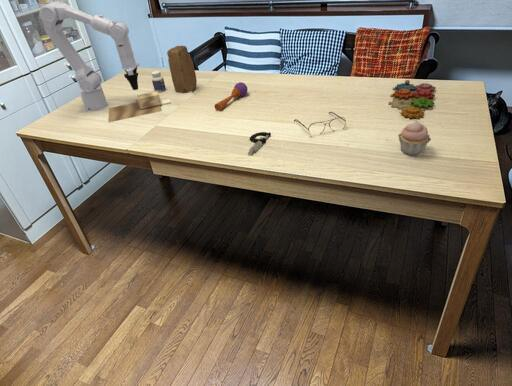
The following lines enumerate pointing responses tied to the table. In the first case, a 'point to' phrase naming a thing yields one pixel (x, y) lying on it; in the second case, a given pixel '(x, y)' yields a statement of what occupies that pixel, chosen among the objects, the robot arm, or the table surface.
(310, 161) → the table surface
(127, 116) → the board
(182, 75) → the block
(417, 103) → the gear puzzle
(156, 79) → the pill bottle
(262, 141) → the micrometer
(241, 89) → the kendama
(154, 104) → the sanding block
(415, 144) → the cupcake
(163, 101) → the eraser
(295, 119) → the glasses
